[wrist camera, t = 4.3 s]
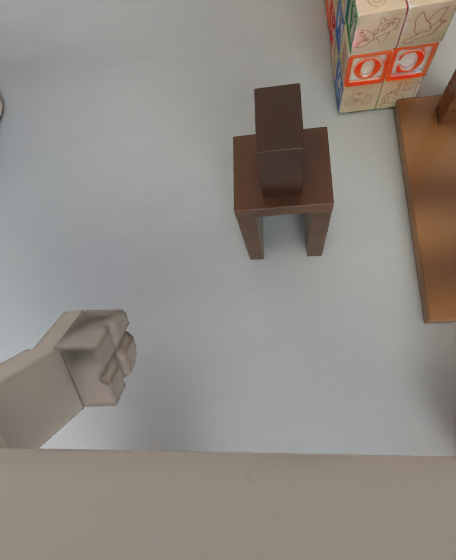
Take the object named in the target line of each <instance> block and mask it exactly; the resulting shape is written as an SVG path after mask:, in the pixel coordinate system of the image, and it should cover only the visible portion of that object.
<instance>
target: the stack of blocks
mask: <svg viewBox="0 0 456 560" xmlns="http://www.w3.org/2000/svg"><path fill="white" fill-rule="evenodd" d="M324 3H325V5H326V11H327V19H328V28H329V29H330V40H331V48H332V53H331V59H332V68H333V77H334V83H335V90H336V98H337V106H338V112H339V113H344V112H353V111H361V110H369V109H374V108H376V109H380V108H388V107H395V105H396V102H397V100H401V99H410V98H415V97H416V95H417V93H418V91H419V88H420V85H421V83H422V80H423V78H424V76H425V75H426V73H427V71H428V68H429V66H430V64H431V61H432V59H433V57H434V55H435V52H436V50H437V47H438V45H439V42H440V41H441V40H442V39H443V37H444V35H445V33H446V31H447V28H448V26H449V24H450V22H451V19H452V17H453V15H454V12H455V10H456V0H324Z"/></svg>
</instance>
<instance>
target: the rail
mask: <svg viewBox="0 0 456 560" xmlns="http://www.w3.org/2000/svg"><path fill="white" fill-rule="evenodd" d="M394 115H395V122H396V129H397V136H398V142H399V149H400V156H401V163H402V170H403V177H404V184H405V191H406V198H407V205H408V212H409V219H410V225H411V232H412V239H413V246H414V253H415V260H416V267H417V274H418V281H419V288H420V295H421V301H422V308H423V315H424V322H425V323H452V322H456V70H455V72H454V74H453V76H452V78H451V79H450V81H449V83H448V85H447V87H446V89H445V91H444V93H443V95H436V96H427V97H419V98H410V99H401V100H397V102H396V105H395V108H394Z"/></svg>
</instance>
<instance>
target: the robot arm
mask: <svg viewBox="0 0 456 560" xmlns="http://www.w3.org/2000/svg"><path fill="white" fill-rule="evenodd" d="M2 109H3V103H2V101H1V100H0V116H1V113H2ZM128 325H129V321H128V318H127V315H126V312H124V311H123V310H86V311H85V310H75V311H67V312H64V313H63V314H62V315H61V316H60V317H59V319H58V320H57V321H56V322H55V323H54V325H53V326H52V327H51V328H50V329H49V331H48V332H47V333H46V334H45V335H44V336H43V338H42V339H41V340H40V341H39V342H38V344H37V345H36V346H35V347H34V348H33V349H31V350H25V351H23V352H21V353H20V354H18V355H16V356H14V357H12V358H10V359H8V360H7V361H5V362H3V363H1V364H0V560H456V457H445V456H398V455H350V454H295V453H240V452H185V451H132V450H79V449H39V448H40V447H41V446H42V445H43V444H44V443H45V442H46V441H48V440H49V439H50V438H51V437H52V436H53V435H54V434H55V433H57V432H58V431H59V430H60V429H61V428H62V427H63V426H64V425H65V424H67V423H68V422H69V421H70V420H71V419H72V418H73V417H74V416H76V415H77V414H78V413H79V412H80V411H81V410H82V409H83V407H89V406H116V405H117V403H118V401H119V399H120V396H121V394H122V392H123V390H124V388H125V386H126V385H125V382H124V378H125V377H126V376H128V375H129V374H130V373H131V372H132V370H133V368H134V365H135V361H136V344H135V341H134V337H133V336H132V335H131V334H129V333H128V332H127V331H126V329H127V327H128Z"/></svg>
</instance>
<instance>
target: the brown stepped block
mask: <svg viewBox="0 0 456 560" xmlns="http://www.w3.org/2000/svg"><path fill="white" fill-rule="evenodd" d="M254 95H255V127H256V134H254V135H245V136H236V137H233V161H234V212H235V215H236V218H237V220H238V223H239V227H240V230H241V233H242V236H243V239H244V242H245V245H246V248H247V251H248V254H249V257H250V259H264V246H263V217H262V216H273V215H286V214H300V213H305V225H306V239H307V254H308V256H319V255H322V252H323V248H324V243H325V239H326V235H327V230H328V226H329V222H330V217H331V213H332V209H333V205H334V200H333V189H332V177H331V166H330V155H329V144H328V132H327V127H319V128H310V129H303V120H302V106H301V92H300V84H299V83H297V84H289V85H281V86H273V87H265V88H258V89H255V90H254Z"/></svg>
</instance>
